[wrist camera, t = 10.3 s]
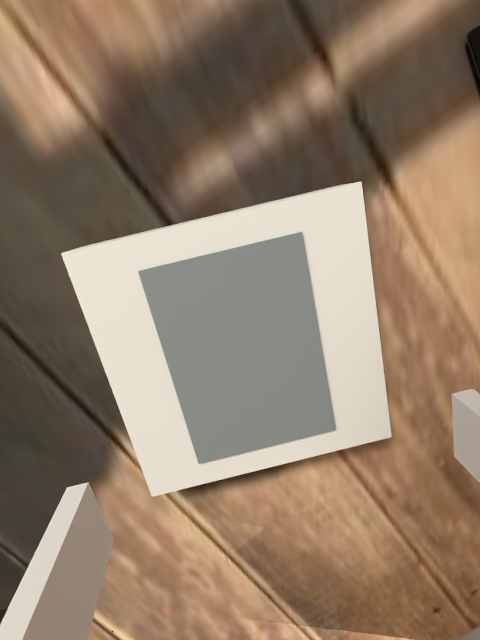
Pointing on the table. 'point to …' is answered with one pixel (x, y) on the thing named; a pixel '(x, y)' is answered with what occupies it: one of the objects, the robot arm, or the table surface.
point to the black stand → (475, 47)
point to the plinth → (240, 336)
